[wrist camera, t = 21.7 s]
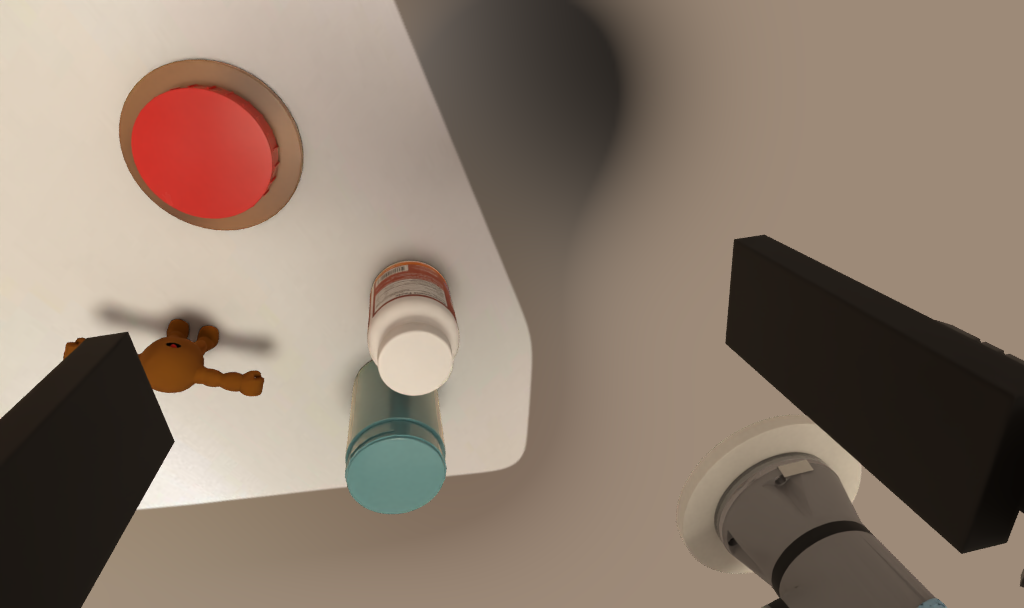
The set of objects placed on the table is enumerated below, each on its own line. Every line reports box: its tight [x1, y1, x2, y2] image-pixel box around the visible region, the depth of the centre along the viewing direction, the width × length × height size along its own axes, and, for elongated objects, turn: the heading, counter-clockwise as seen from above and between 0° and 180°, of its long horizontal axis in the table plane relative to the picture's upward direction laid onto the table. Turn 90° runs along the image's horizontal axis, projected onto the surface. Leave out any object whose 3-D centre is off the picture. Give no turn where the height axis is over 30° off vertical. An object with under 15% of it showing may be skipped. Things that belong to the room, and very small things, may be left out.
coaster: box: [119, 60, 303, 230], centre depth 38 cm, size 11×11×1 cm
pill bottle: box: [367, 261, 459, 396], centre depth 40 cm, size 6×6×11 cm
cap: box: [131, 84, 280, 219], centre depth 36 cm, size 8×8×2 cm
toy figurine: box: [63, 319, 264, 396], centre depth 40 cm, size 12×4×7 cm, turn 70°
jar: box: [345, 360, 447, 514], centre depth 44 cm, size 7×7×11 cm
